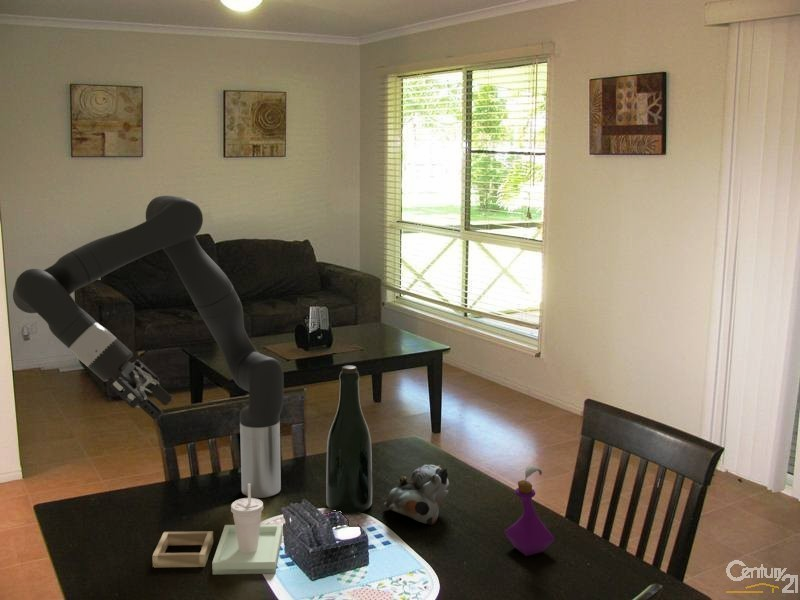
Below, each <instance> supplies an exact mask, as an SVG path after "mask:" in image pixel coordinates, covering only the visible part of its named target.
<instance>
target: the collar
mask: <svg viewBox="0 0 800 600" xmlns="http://www.w3.org/2000/svg"><path fill="white" fill-rule="evenodd" d="M213 545H214V531H213V530H212V531H209V530H208V531H207V530H206V531H199V530H198V531H164V532H163V533H162V535H161V537H160V539H159V541H158V544H157V546H156V548H155V550H154V551H153V554H152V568H153V567H154V568H199V567H200V568H205V567H206V564H207V562H208V560H209V559H208V558H209V556H210V553H211V549H212V548H213ZM169 546H201V550H200V552H166V551H167V549H168V547H169Z"/></svg>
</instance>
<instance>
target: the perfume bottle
mask: <svg viewBox="0 0 800 600" xmlns="http://www.w3.org/2000/svg"><path fill="white" fill-rule="evenodd" d="M536 472H538V473H539V476H542V474H543V471H542V469H541V468H539V467H538V466H535V465H533V464H530V465H528V466H527V467H526V468H525V471H524V474H525V478H524V480H523V479H522V480H518V481H517V488H516V489H515V491H514V493H515V495H516V496H517V497H519V498H520V500H521V501H522V505H523V506H522V507H523V512H522V514H521V517H520V518H518V519H517V521H515V522H514V523H512V524H511V525H510V526H509V527H507V528H506V529H505V530H504V532H503V533H504V534H505V536H506V537H507V538H508V540H509V541H510V543H511V544H512V546H513V547H514V548H515V549H516V550H518V551H519V552H520V553H522V554H523V555H524V556H525V557H528V556H531V555H537V554H540V553H543V552H544V551H545V550H546V549H547V548H548V547H549V546H550V545H551V544H552V543H553V542H554V541H555V540H556V539H555V536H554V535H553V534H552V533H551V532H550V530H549V529H548V528H547V526H546V525H545V524H544V523H543V521H542V520H541V519H540V518H539V515H538V514H537V512H536V510H535V507H534V504H533V500H532V499H533V497H535V496H536V491H535V489H533V485H532V483H531V481H528V480H527V478H530V477H531V476H532V475H533V474H534V473H536Z"/></svg>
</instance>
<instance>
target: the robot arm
mask: <svg viewBox="0 0 800 600" xmlns="http://www.w3.org/2000/svg"><path fill="white" fill-rule="evenodd" d="M203 217H204V215H203V212H202V210H201V208H200V207H199V205H198V204H197V203H195V202H194V200H193V201H192V200H191V199H188V198H185V197H182V196H174V195H160V196H156V197H154V198H153V199H152V200H150V201H149V203H148V204H147V206H146V210H145V221H144V222H142V223H140V224H138V225H135V226H133V227H130V228H129V229H125V230H122V231H120V232H115V233H113V234H110V235H107V236H103V237H100V238H98V239H95V240H92V241H89V242H88V243H85V244H83V245H81V246H80V247H77V248H75V249H73V250H72V251H70V252H67V253H66V254H64V255H63V256H61V257H59V258H58V259H57V261H56V262H54V264H52V265H50V266H48V267H46V269H44V270H43V269H39V268H30V269H26V270H24V271H23V272H22V273H20V274H19V275H18V276H17V278H16V281H15V284H14V288H13V290H12V291H13V292H12V299H13V302H14V304H15V306H16V307H17V308H18V309H19V310H20V311H22V312H25V313H27V314H37V315H39V317H40V318H42V319H43V320H44V321H45V322H46V324H47V325H48V328H49V330H50V332H51V333H52V334H53V336H54V337H56V338H57V339H58V340H59V341H60V342H61V343H62V344H63V345H64V346H65V347H66V348H68V349H69V350H70V351H71V352H72V353H73V354H74V356H75V357H76V358H77V359H78V360H79V361H80V362H81V363H82V364H84V365H85V366H86V367H87V368H88V369H89V370H90V371H91V372H93V373H94V375H96V376H97V377H98V378H99V379H100V380H101V381H103V382H107V381H109V380H110V379H111V378H112V379H113V380H114V381H113V383H112V384H111V385H110V389H111V390H112V391H113V392H114V393H116V395H117V396H119V397H120V398H121V399H122V400H123V401H124V402H125V403H126V404H127V405H128V406H129V407H130V408H131V409H135V408H140V409H141V410H142V411H143V412H145V413H146V414H147V415H148V416H149V417H150V418H152V419H153V420H157V419H158V418H159V417H160V416H161V415H162V414H163V409H161V408H160V406H158V404H157V403H155V402H154V401H153V400H152V399H151V398H149V397H148V395H147V394H146V391H147V392H148V393H151V395H152V396H153V397H154V398H155V399H156V400H157V401H159V402H160V403H161V404H162V405H163V406H167V405H169V403H171V402H172V400H173V396H172V395H171V394H170V393H169V392H168V391H167V390H165V388H163V386H162V385H161V384H160V382H159V381H160V377H159V376H158V375H157V374H155V373H154V371H152V370H151V369H150V368H149V367H147V365H145V364H144V363H143V362H142V361H141V360H139V359H136V360H135V361H134V362H133V363H132V362H131V361H130V359H131V358H132V357H133V355H134V354H133V351H131V349H129V348H128V346H126V345H125V344H124V343H123V342H122V341H120V340H119V339H118V338H117V337H116V336H115V335H114V334H113V333H111V331H110V330H109V329H107V328H106V327H104V326H103V325H101V324H100V323H99V322H98V321H97V320H95V319H94V318H93V316H91V315H90V314H89V313H88V312H86V310H84V309H83V308H82V307H80V306H79V305H78V304H77V302H76V301H75V300H74V298H73V297H72V296H71V294H72V293H74V292H75V291H78V290H79V289H81V288H84V287H86V286H88V285H89V284H91V283H94V282H95V281H97V280H99V279H101V278H102V277H104V276H107V275H108V274H110V273H112V272H114V271H116V270H118V269H120V268H121V267H124V266H126V265H127V264H129V263H132V262H134V261H137V260H139V259H140V258H142V257H144V256H145V257H146V256H147V255H149V254H153V253H155V252H158V251H159V250H163V251H164V253H165V254H166V255H167V257H168V258H169V260H170V261H171V263H172V264H173V266H174V269H175V270H176V272H177V275H178V276H179V278H180V280H181V282H182V284H183V285H184V288H185V289H186V291H187V293H188V294H189V296H190V299H191V300H192V303H193V305H194V307H195V308H196V310H197V311H198V313H199V315H200V317H201V318H202V321H203V322H204V323H205V325H206V327H207V328H208V331H209V332H210V333H211V336H212V337H213V339H214V341H215V342H216V344H217V345H218V347H219V349H220V351H221V353H222V356H223V358H224V360H225V362H226V365H227V368H228V370H229V373H230V374H231V377H232V379H233V381H234V383H235V384H236V385H237V386H238V387H239V388H240V389H242V390H244V391H246V392H248V405H246V406H245V407H243V408H241V410H240V412H239V432H240V433H239V434H240V435H239V436H240V471H241V473H240V475H241V476H240V478H241V481H240V482H241V485H240V486H241V493H242V494H243V495H244V496H246V497H248V484H251V498H256V499H259V498H260V499H262V498H269V497H273V496H275V495H277V494H279V493H280V491H281V489H282V488H281V487H282V485H281V484H282V482H281V478H282V477H281V474H282V473H281V433H280V432H281V429H280V427H281V425H280V423H281V421H280V419H281V418H280V417H281V416H280V415H281V413H282V410H283V407H284V391H285V390H284V387H285V386H284V385H285V382H284V381H285V379H284V370H283V367H282V365H281V363H280V361H278V360H277V359H275V358H274V357H270V356H268V355H265V354H263V353H260V352H259V351H258V350H257V348H256V347H255V345H254V344H253V343H252V341H251V339H250V337H249V336H248V334H247V330H246V327H245V321H244V319H245V318H244V309H243V308H244V307H243V305H242V301H241V299H240V297H239V295H238V293H237V291H236V290H235V287H234V285H233V284H232V282H231V280H230V279H229V277H228V275H227V274H226V273H225V272H224V271H223V269H221V267H220V266H219V265H218V263H216V262H215V261H214V260H213V259H212V258H211V257H210V256H209V255H208V254H207V252H206V251H205V250H204V249H203V248H202V246H201V245H200V243H199V241H198V239H197V237H196V236H197V235H198V233H199V232H200V230H201V229H202V226H203V224H204V223H203V221H204V218H203Z"/></svg>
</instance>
